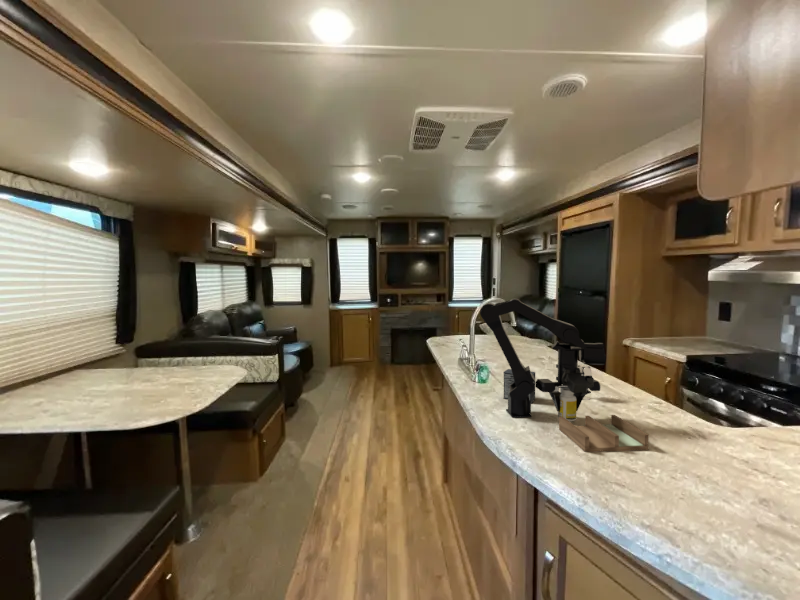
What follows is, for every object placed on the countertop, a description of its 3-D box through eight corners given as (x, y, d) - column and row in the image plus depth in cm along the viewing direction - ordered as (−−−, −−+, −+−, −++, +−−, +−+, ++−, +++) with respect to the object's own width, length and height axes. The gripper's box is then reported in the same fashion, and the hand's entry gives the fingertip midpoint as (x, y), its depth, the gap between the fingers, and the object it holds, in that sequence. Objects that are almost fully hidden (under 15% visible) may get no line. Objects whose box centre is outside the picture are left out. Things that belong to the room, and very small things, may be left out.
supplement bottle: (578, 418, 116) (579, 388, 115) (573, 423, 112) (573, 392, 111) (561, 414, 120) (561, 385, 119) (555, 419, 116) (555, 389, 115)
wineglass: (590, 401, 131) (590, 369, 131) (573, 398, 135) (573, 367, 134) (593, 397, 136) (593, 366, 135) (576, 394, 139) (576, 364, 139)
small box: (535, 398, 135) (536, 371, 135) (532, 404, 130) (532, 375, 129) (507, 394, 141) (507, 368, 140) (502, 399, 136) (503, 371, 135)
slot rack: (585, 451, 94) (585, 436, 93) (559, 429, 108) (559, 416, 107) (648, 449, 94) (648, 434, 94) (614, 427, 108) (614, 414, 108)
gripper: (550, 370, 106) (550, 421, 107) (612, 368, 107) (610, 419, 108) (535, 361, 118) (534, 408, 118) (590, 360, 118) (589, 406, 119)
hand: (567, 411), depth 116 cm, fingers closed on supplement bottle, 5 cm apart
